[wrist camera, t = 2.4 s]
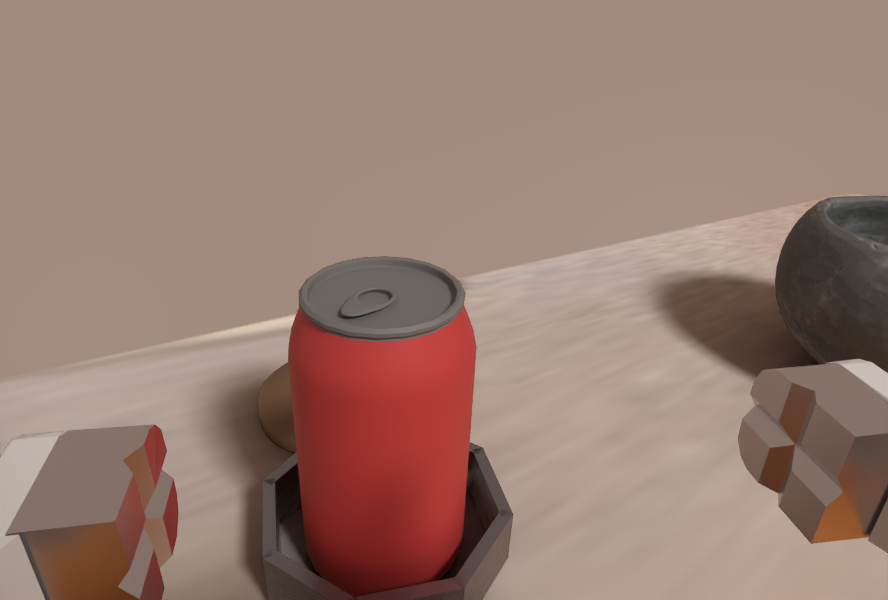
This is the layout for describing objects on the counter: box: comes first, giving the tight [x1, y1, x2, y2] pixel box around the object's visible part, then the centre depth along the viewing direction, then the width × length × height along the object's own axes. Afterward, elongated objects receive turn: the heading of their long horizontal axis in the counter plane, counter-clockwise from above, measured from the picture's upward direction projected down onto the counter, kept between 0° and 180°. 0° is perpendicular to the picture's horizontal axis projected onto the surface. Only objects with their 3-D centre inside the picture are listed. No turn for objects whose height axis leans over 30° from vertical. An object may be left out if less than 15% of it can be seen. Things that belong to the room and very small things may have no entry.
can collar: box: [262, 443, 513, 600], centre depth 26 cm, size 10×10×2 cm
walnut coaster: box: [258, 363, 297, 454], centre depth 35 cm, size 9×9×1 cm
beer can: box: [288, 256, 476, 597], centre depth 24 cm, size 7×7×12 cm
